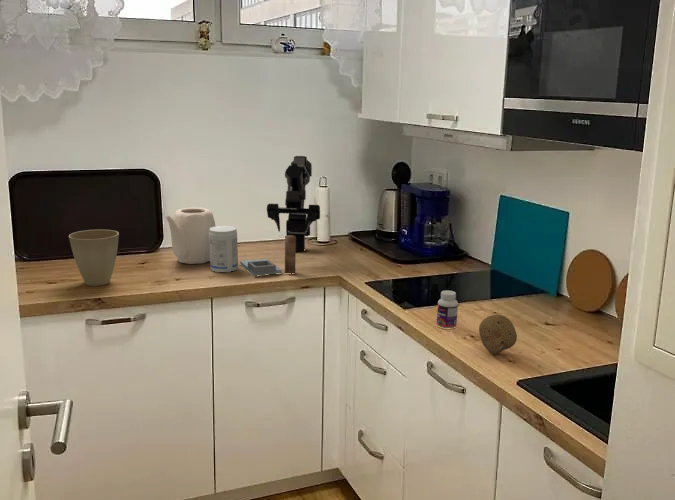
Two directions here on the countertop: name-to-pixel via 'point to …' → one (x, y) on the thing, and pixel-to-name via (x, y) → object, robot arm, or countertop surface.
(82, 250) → the plant pot
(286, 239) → the stool leg
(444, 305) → the pill bottle
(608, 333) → the countertop surface
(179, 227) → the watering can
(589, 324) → the countertop surface
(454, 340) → the countertop surface
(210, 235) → the supplement tub
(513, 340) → the natural sponge
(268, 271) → the seat board
